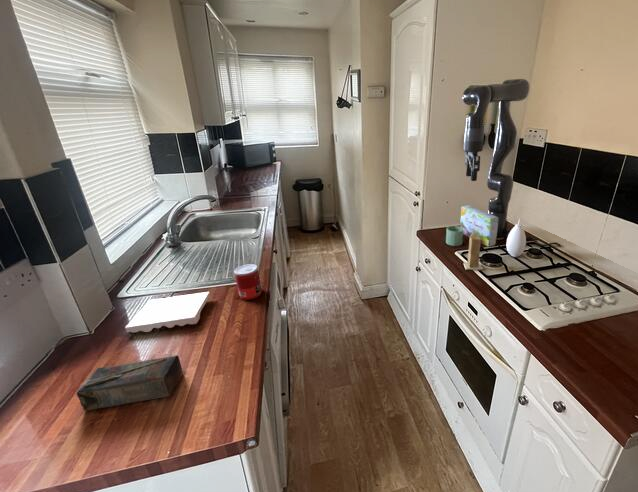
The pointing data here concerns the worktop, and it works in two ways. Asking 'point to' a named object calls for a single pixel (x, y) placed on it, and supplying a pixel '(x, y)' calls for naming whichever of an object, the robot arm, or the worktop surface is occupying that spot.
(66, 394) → the worktop surface
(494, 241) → the snack box
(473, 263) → the peg
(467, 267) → the board
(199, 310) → the food packaging
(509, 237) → the white teardrop shape
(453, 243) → the pot
